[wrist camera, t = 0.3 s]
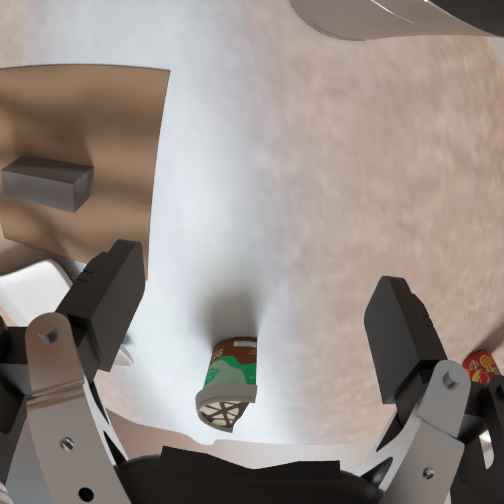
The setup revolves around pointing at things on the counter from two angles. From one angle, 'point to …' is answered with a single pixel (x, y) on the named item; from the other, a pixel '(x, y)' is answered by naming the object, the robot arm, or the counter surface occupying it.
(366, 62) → the counter surface
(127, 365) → the salad plate
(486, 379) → the smoothie
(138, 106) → the cover board
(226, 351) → the food container
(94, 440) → the robot arm
